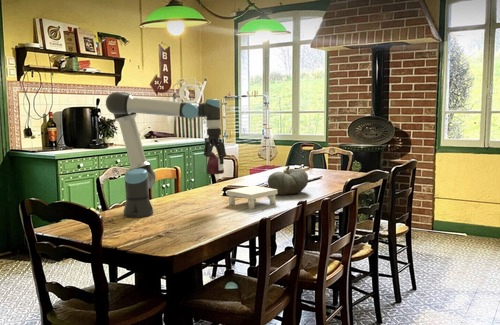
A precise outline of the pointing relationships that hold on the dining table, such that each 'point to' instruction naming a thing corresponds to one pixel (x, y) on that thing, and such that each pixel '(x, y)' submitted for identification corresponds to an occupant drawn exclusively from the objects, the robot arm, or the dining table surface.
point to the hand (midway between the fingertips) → (215, 169)
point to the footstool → (251, 194)
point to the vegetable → (213, 165)
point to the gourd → (288, 181)
